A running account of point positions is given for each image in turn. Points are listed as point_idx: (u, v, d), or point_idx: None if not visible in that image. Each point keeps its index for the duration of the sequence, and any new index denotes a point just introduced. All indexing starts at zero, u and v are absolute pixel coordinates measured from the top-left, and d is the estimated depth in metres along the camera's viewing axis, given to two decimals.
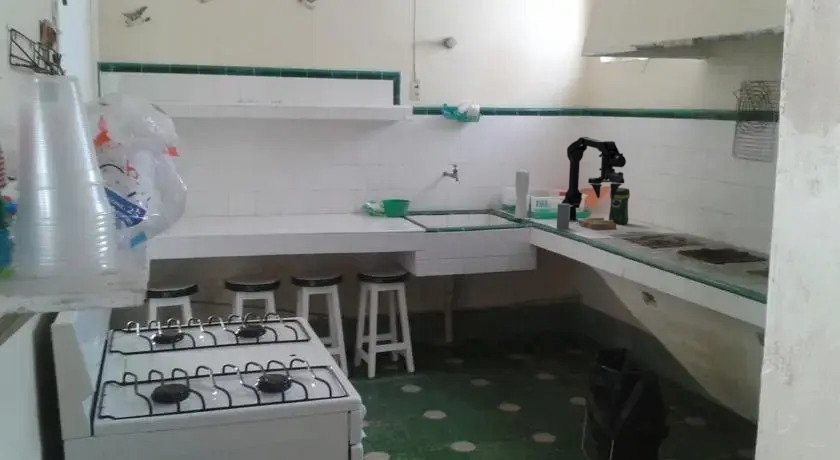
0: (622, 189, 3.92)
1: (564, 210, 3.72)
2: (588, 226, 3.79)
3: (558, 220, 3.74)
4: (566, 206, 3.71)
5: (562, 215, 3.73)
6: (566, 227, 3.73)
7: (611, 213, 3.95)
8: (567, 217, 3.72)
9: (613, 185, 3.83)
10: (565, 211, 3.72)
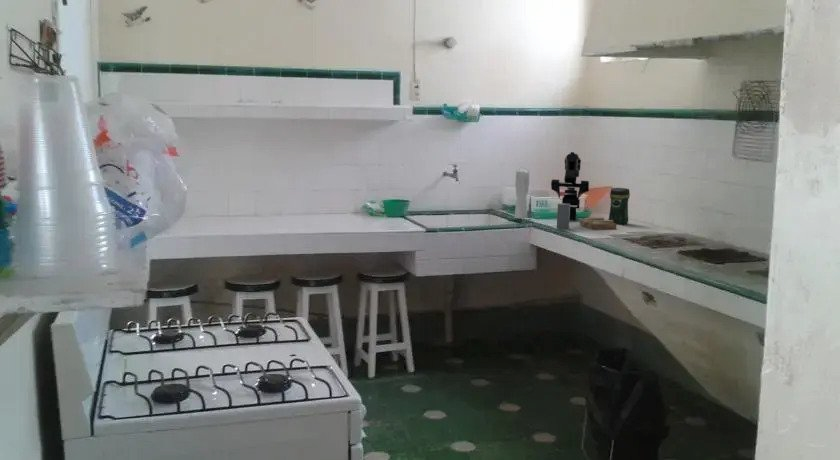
0: (622, 189, 3.92)
1: (564, 210, 3.72)
2: (588, 226, 3.79)
3: (558, 220, 3.74)
4: (566, 206, 3.71)
5: (562, 215, 3.73)
6: (566, 227, 3.73)
7: (611, 213, 3.95)
8: (567, 217, 3.72)
9: None
10: (565, 211, 3.72)
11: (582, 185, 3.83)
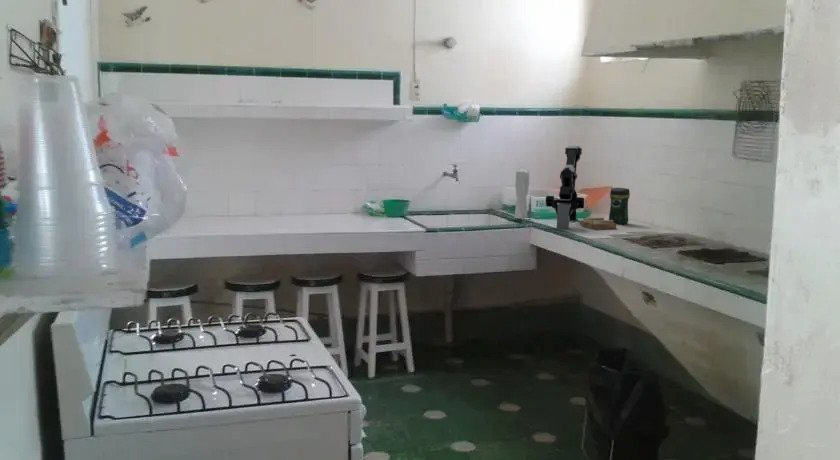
0: (622, 189, 3.92)
1: (564, 210, 3.72)
2: (588, 226, 3.79)
3: (558, 220, 3.74)
4: (566, 206, 3.71)
5: (562, 215, 3.73)
6: (566, 227, 3.73)
7: (611, 213, 3.95)
8: (567, 217, 3.72)
9: None
10: (565, 211, 3.72)
11: (574, 202, 3.74)
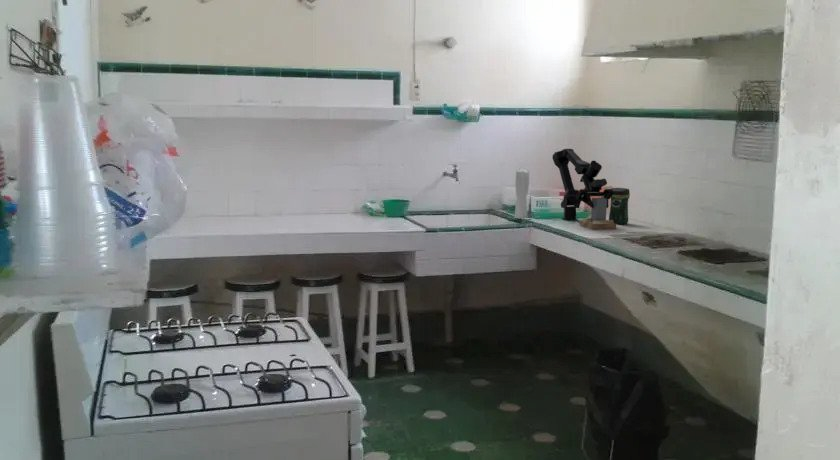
0: (622, 189, 3.92)
1: (603, 204, 3.78)
2: (588, 226, 3.79)
3: (597, 215, 3.78)
4: (604, 200, 3.78)
5: (600, 209, 3.78)
6: None
7: (611, 213, 3.95)
8: (605, 211, 3.79)
9: None
10: (603, 205, 3.78)
11: (608, 194, 3.82)
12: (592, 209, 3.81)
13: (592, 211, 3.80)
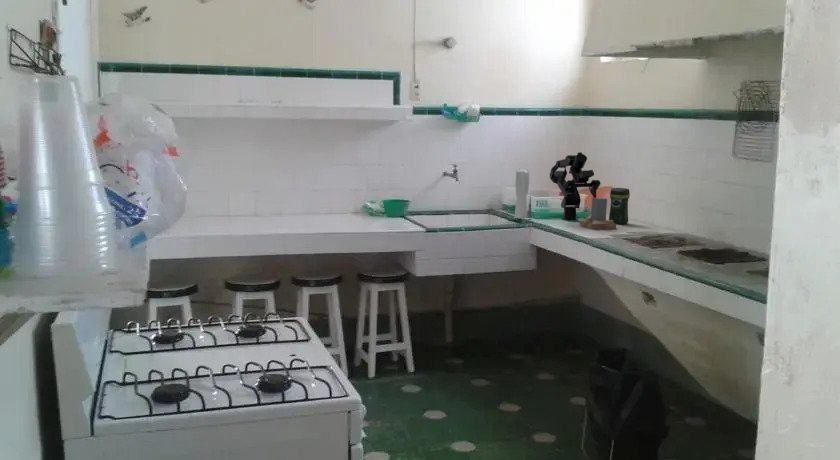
0: (622, 189, 3.92)
1: (603, 204, 3.78)
2: (588, 226, 3.79)
3: (597, 215, 3.78)
4: (604, 200, 3.78)
5: (600, 209, 3.78)
6: None
7: (611, 213, 3.95)
8: (605, 211, 3.79)
9: (592, 189, 3.93)
10: (603, 205, 3.78)
11: (596, 184, 3.92)
12: (592, 209, 3.81)
13: (592, 211, 3.80)
